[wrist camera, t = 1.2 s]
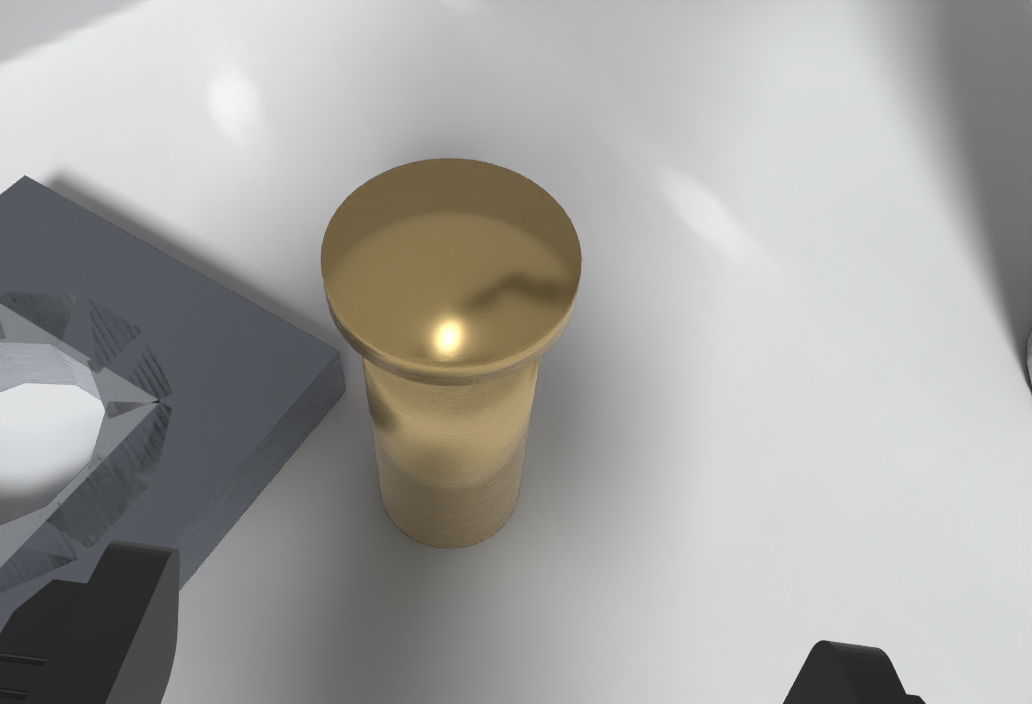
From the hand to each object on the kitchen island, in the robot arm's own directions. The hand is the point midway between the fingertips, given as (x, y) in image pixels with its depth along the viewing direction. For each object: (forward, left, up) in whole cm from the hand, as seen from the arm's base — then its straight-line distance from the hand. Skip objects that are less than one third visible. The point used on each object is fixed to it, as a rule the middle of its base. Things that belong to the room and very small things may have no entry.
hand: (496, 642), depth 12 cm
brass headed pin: (-8, -6, -16) cm, 19 cm away
